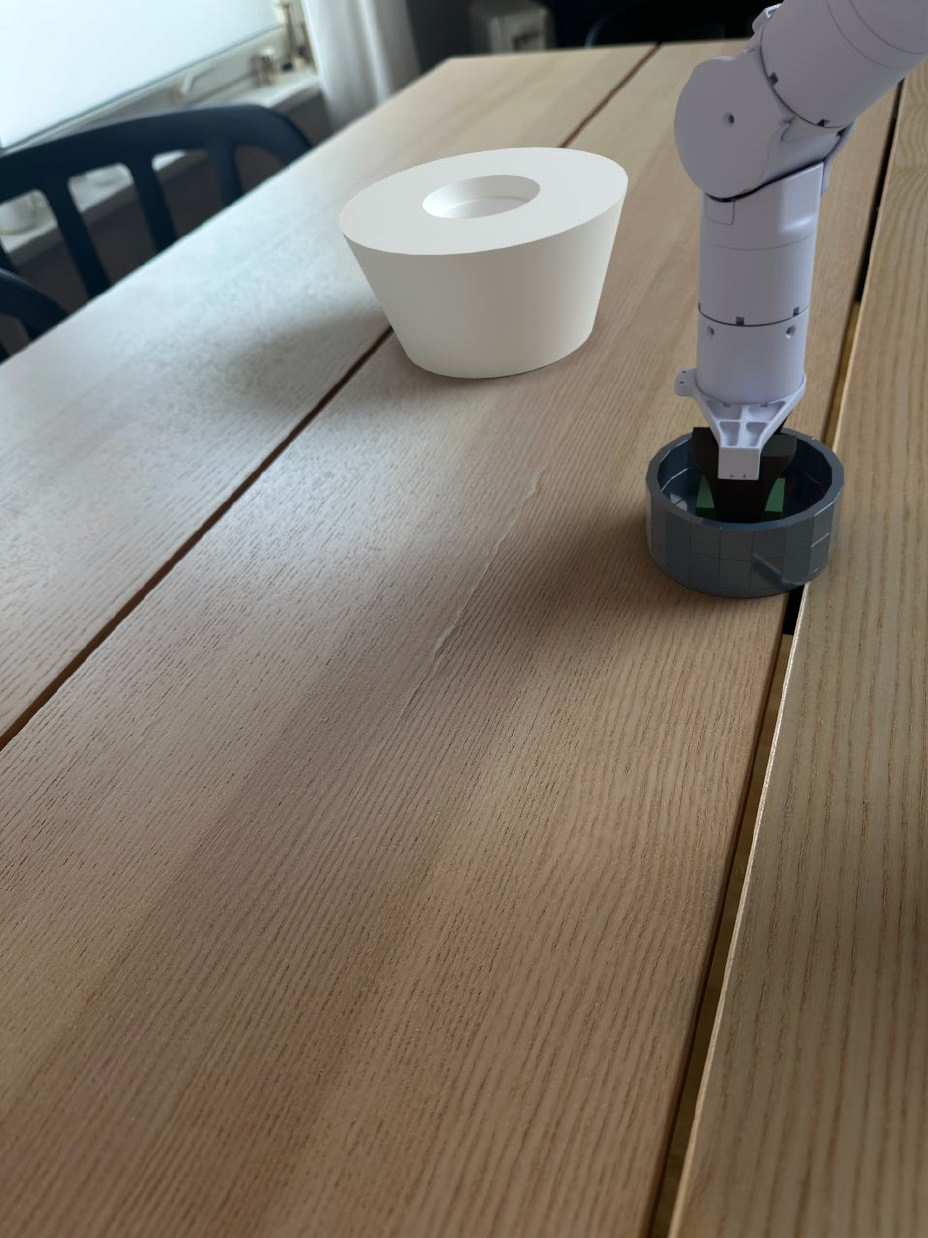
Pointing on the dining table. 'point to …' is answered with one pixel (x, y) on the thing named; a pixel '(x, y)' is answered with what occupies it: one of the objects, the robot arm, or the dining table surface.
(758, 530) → the basin
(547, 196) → the white tapered cylinder
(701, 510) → the green rectangular block
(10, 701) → the dining table surface
